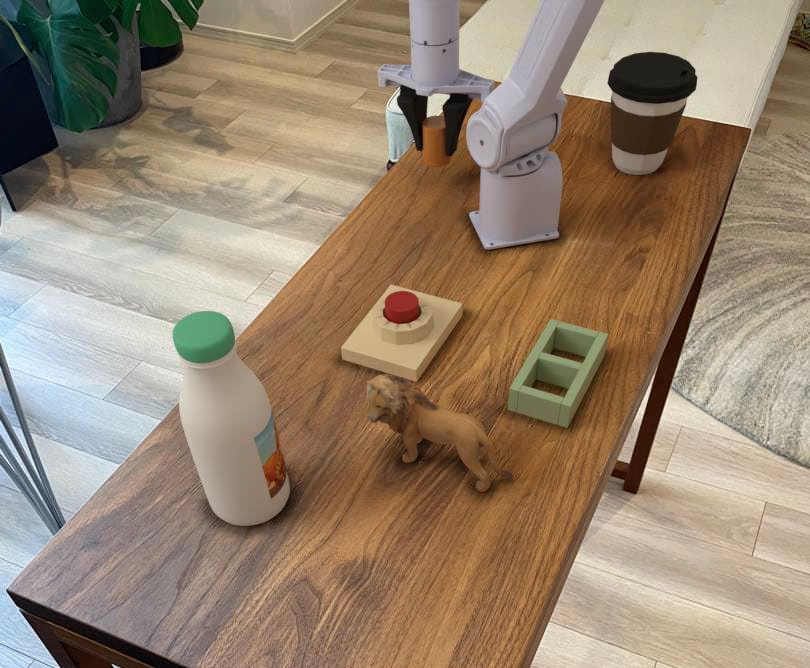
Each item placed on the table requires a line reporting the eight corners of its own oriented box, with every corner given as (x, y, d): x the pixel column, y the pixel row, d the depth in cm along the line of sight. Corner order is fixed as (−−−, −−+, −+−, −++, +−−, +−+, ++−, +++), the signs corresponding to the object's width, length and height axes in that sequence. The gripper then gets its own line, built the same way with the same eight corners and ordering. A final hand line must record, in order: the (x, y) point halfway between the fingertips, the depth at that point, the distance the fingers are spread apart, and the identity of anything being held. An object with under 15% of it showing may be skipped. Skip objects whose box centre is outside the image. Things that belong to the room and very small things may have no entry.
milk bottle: (257, 541, 76) (207, 374, 60) (193, 508, 78) (128, 340, 63) (307, 485, 80) (272, 314, 64) (244, 456, 82) (195, 285, 66)
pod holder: (604, 356, 89) (608, 333, 87) (567, 428, 83) (570, 406, 80) (547, 340, 91) (550, 318, 88) (507, 410, 85) (509, 388, 82)
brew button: (394, 300, 91) (394, 287, 90) (424, 309, 90) (424, 295, 89) (379, 320, 89) (378, 306, 88) (410, 328, 88) (409, 315, 87)
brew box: (391, 296, 97) (389, 270, 94) (462, 315, 94) (462, 289, 91) (342, 359, 90) (338, 334, 88) (416, 382, 88) (415, 356, 85)
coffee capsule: (446, 151, 110) (446, 113, 106) (453, 165, 108) (453, 126, 104) (420, 155, 110) (419, 117, 106) (426, 169, 107) (425, 131, 103)
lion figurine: (360, 461, 81) (352, 393, 74) (381, 424, 84) (375, 355, 77) (505, 500, 77) (511, 432, 70) (521, 460, 80) (528, 391, 73)
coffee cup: (687, 151, 113) (709, 57, 104) (666, 191, 107) (687, 96, 98) (609, 136, 116) (623, 44, 107) (584, 175, 111) (597, 81, 101)
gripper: (364, 42, 96) (372, 155, 107) (481, 58, 93) (478, 174, 103) (388, 17, 100) (394, 129, 111) (502, 32, 96) (497, 147, 107)
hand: (436, 149), depth 107 cm, fingers closed on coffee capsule, 3 cm apart
